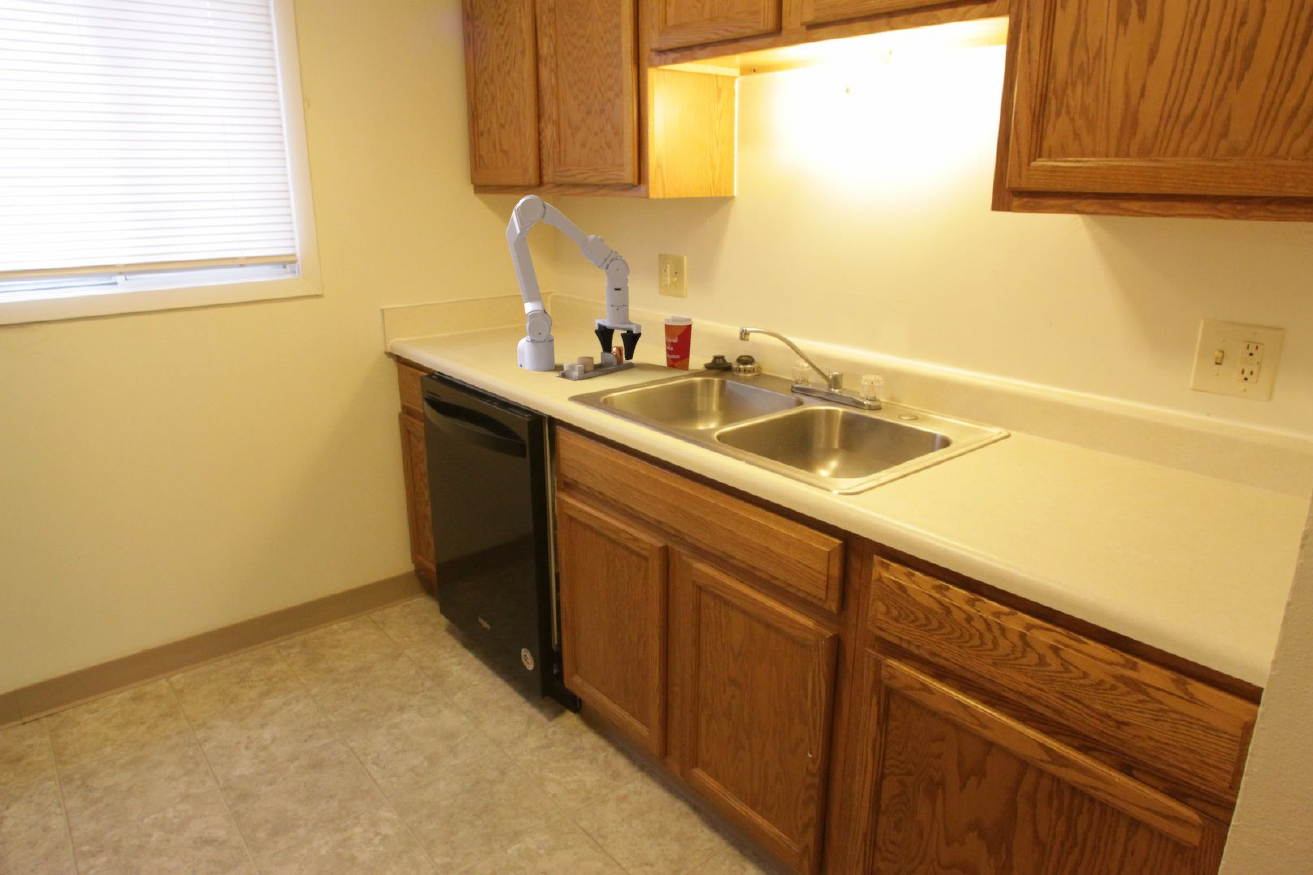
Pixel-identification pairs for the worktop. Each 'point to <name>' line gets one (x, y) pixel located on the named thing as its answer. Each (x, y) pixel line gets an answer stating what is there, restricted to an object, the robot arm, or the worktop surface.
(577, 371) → the grey tray
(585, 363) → the tan cylinder
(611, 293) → the robot arm
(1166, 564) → the worktop surface
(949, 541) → the worktop surface
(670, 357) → the paper cup
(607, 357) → the press jaw
